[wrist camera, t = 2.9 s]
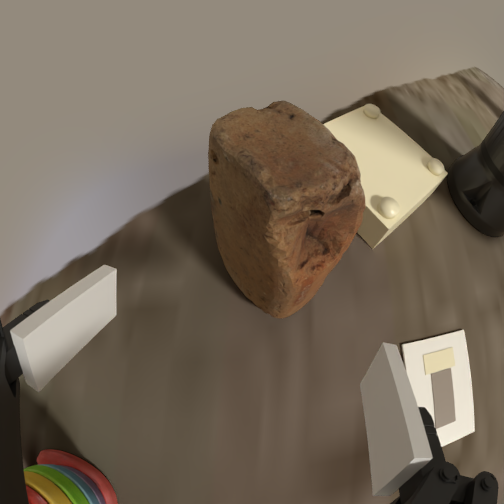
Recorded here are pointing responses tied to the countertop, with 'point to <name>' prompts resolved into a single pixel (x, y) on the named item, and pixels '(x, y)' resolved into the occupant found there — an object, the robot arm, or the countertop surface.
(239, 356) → the countertop surface
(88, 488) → the stacking bear
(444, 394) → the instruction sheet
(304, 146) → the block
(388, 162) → the cream knobbed square piece
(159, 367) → the countertop surface
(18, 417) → the robot arm
